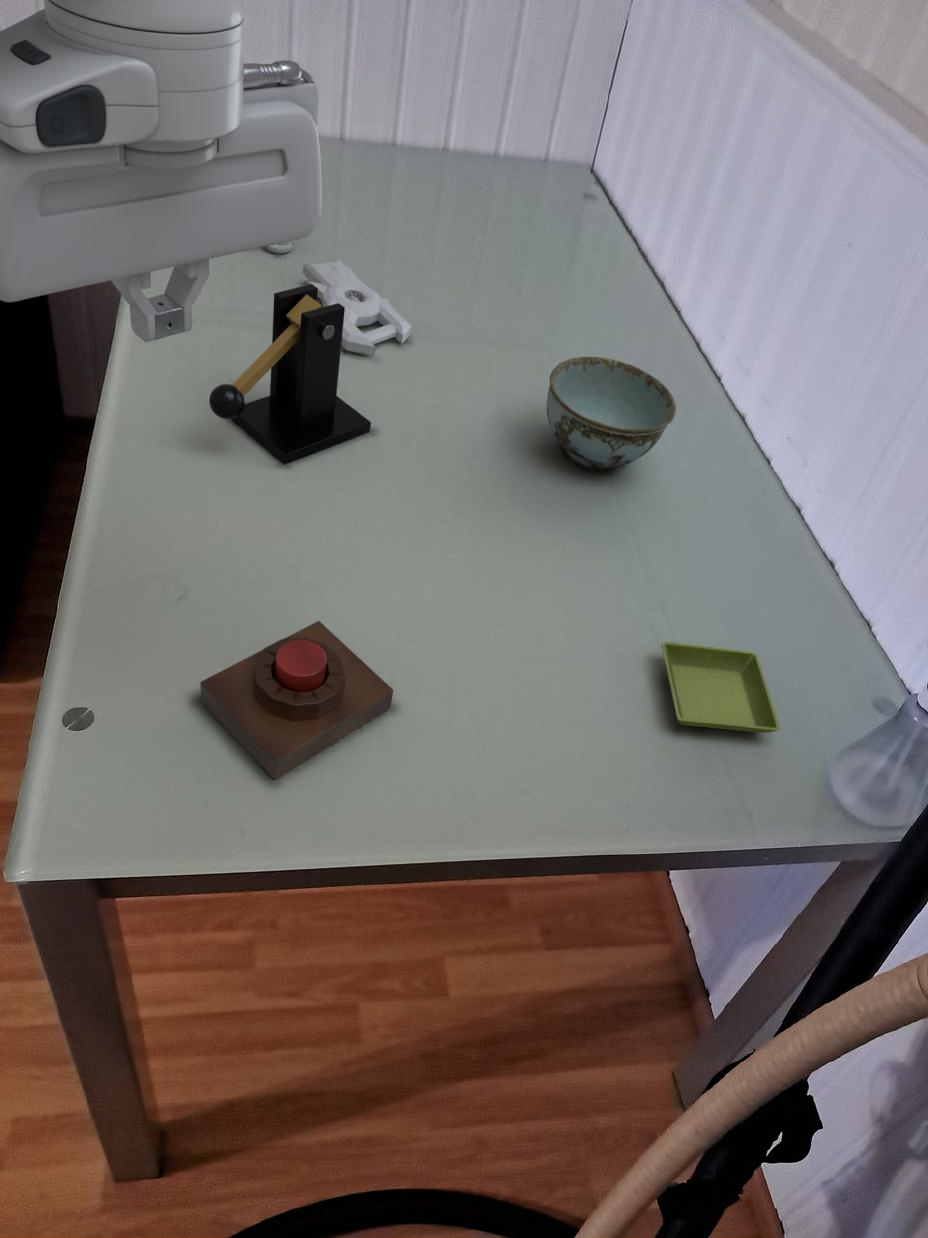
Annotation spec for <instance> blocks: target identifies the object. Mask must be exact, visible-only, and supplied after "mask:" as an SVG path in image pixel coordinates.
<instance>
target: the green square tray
mask: <svg viewBox="0 0 928 1238" xmlns="http://www.w3.org/2000/svg"><path fill="white" fill-rule="evenodd" d="M661 651H662V655H663V660H664V664H665V669H666V670H665V671H666V674H667V679H668V683H669V689H670V692H671V697H672V702H673V707H674V713H675V716H676V720H677V722H678V723H679V724H680V725H683V726H690V727H700V728H710V729H718V730H719V729H720V730H729V731H739V732H749V733H759V734H760V733H763V734H764V733H773V732H777V731H779V730H780V724H779V721H778V717H777V714H776V710H775V708H774V704H773V701H772V698H771V695H770V693H769V689H768V686H767V683H766V679H765V676H764V672H763V670H762V665H761V662H760V659H759V657H758V656H759V655H758V654H756V653H755V652H752V651H748V650H741V649H740V650H738V649H732V648H721V647H713V646H704V645H698V644H697V645H696V644H688V643H680V642H673V641H664V642H662V643H661Z"/></svg>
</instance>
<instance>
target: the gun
mask: <svg viewBox="0 0 928 1238" xmlns="http://www.w3.org/2000/svg"><path fill="white" fill-rule="evenodd" d="M302 274H303V275H304V276H305V278H306V279H307V285H309V284H312V285H314V286H315V287H317V288H318V295H317V298H318V299H320V301H321V306H322V307H326V306H329V305H333V304H336V303H339V304H341V305H342V306H344V307H345V313H344V323H343V333H342V343H341V347H343V348H344V350H346V351H348V352H351V353H356V354H362V355H367V356H374V355H375V352H376V351H375V350H376V346H375V344H378V343H381V342H383V341H387V340H389V339H392V338H395V339H396V340H397V341H398V342H399V343H400V344H403V343H404V342H405V341H406V340H407V339H408V338H409V337H410V335H411V332H412V327H413V326H412V325H411V324H410V323H409V322H408V321H407V320H406V319H405V318H404V317H402V315H401V314H400V313H398V312H397V310H395V309H394V307H392V305H391V303H390V302H389V300H388V298H387V297H385V298H383V297H382V296H381V295H380V294H379V293H378V292H376V291H375V290H374V289H372V288H370V287H368V286H367V285H366V284H365V283H364V282H363V281H362V280H361V279H360V278H359V277H357V275H356V274H355V273H354V270H353V269H352V268H351V267H350V266H349V265H347V264H344V262H343V261H341V260H340V259H338V260H336V261H333V262H325V263H305V264H303V267H302ZM375 322H378V323H380V324H381V325H382V326H380V327H377V328H375V329H371V330H369V331H365V332H362V331H361V329H359V328H358V327H362V326H363V327H366V326H369V325H372V324H374V323H375Z"/></svg>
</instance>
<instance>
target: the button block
mask: <svg viewBox="0 0 928 1238" xmlns="http://www.w3.org/2000/svg"><path fill="white" fill-rule="evenodd" d="M293 640H307V641H311V642H313V643H315V644H317V645H319V646H320V647H321V648H322V649H323V651H324V652H325V654H326V669H325V677H324V680H323V681H322V683H321V684H320V685H319V686H318V687H316V688H315V689H313V690H310V691H305V692H296V691H292V690H289V689H287V688H285V687H283V686H282V685H281V684H280V683H279V682H278V680H277V679H276V676H275V664H276V654H277V651H278V650H279V648H280V647H281V646H282V645H284V644H285V643H287V642H290V641H293ZM199 684H200V702H201V703H202V704H203V705H204V706H205V707H206V708H207V710H208V711H210V713H211V714H212V715H213V716H214V717H215V718H216V719H217V720H218V722H219V723H220V724H222V726H223V727H224V728H225V729H226V730H227V731H228V732H229V733H230V734H231V735H232V737H233V738H234V739H236V741H238V743H239V744H240V745H241V746H242V747H243V748H244V749H245V750H246V751H247V752H248V754H249V755H250V756H251V757H252V758H253V759H254V760H255V761H256V762H257V763H258V764H259V765H260V766H261V768H262V769H263V770H264V771H265V773H267V774H268V775H269V776H270V777H271V778H272V779H273V780H274V781H276V780H277V779H279V778H281V777H282V776H284V775H285V774H287V773H288V772H290V771H292V770H293V769H295V768H297V767H298V766H300V765H301V764H303V763H305V762H306V761H308V760H309V759H312V758H313V757H315V756H316V755H317V754H319V753H320V752H322V751H324V750H326V749H327V748H329V747H330V746H332V745H333V744H335V743H337V742H339V741H340V740H342V739H344V738H345V737H347V736H349V735H350V734H351V733H353V732H355V731H356V730H358V729H360V728H361V727H363V726H364V725H366V724H367V723H369V722H371V721H372V720H374V719H375V718H377V717H379V716H380V715H382V714H384V713H385V712H386V711H388V710H390V709H391V707H392V700H393V695H394V688H392V687H391V686H390V685H389V684H388V683H387V682H386V681H385V680H384V679H382V678H381V677H380V676H379V674H377V673H376V672H375V671H374V670H373V669H371V668H370V666H368V665H367V664H366V663H365V662H364V661H363V660H362V659H361V658H360V657H359V656H357V655H356V654H355V653H354V652H353V651H352V650H351V649H350V648H349V647H348V646H347V645H346V644H345V643H344V642H342V640H341V639H339V638H338V637H337V635H335V634H334V633H333V632H332V631H331V630H330V629H329V628H328V627H326V625H325V624H323V623H322V622H321V621H320V620H317V621H315V622H313V623H311V624H309V625H307V626H306V627H304V628H302V629H300V630H298V631H296V632H294V633H292V634H290V635H288V636H286V637H284V638H281V639H279V640H277V641H275V642H273V643H272V644H269V645H268V646H266V647H264V648H262V649H261V650H259V651H257V652H256V653H255V652H254V654H252V655H250V656H248V657H246V658H243V659H242V660H239V661H238V662H236V663H234V664H233V665H230V666H228V667H227V668H224V669H223V670H221V671H219V672H217V673H215V674H213V675H211V676H209V677H207V678H205V679H203V680H202V681H200V683H199Z"/></svg>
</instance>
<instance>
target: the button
mask: <svg viewBox="0 0 928 1238" xmlns="http://www.w3.org/2000/svg"><path fill="white" fill-rule="evenodd" d="M325 669H326V654H325V652H324V651H323V649H322V648H321V647H320V646H319V645H317V644H315V643H313V642H311V641H307V640H293V641H290V642H287V643H285V644H284V645H282V646H281V647H280V648H279V650H278V651H277V654H276V664H275V676H276V679H277V680H278V682H279V683H280V684H281V685H282V686H283V687H285V688H287V689H289V690H292V691H296V692H305V691H310V690H313V689H315V688H316V687H318V686H319V685H320V684H321V683H322V681H323V680H324V677H325Z"/></svg>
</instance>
